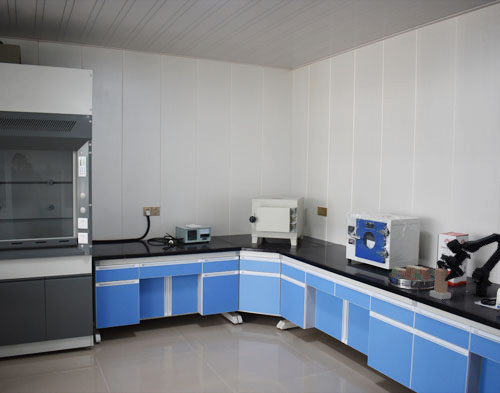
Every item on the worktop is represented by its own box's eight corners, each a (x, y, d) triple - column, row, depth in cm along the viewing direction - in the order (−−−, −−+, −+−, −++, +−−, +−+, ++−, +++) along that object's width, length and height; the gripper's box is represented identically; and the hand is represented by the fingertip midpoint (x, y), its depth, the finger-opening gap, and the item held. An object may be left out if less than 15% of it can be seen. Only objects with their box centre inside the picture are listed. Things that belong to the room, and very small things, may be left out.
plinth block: (439, 294, 263) (439, 289, 263) (450, 298, 256) (451, 292, 256) (429, 295, 260) (429, 290, 260) (440, 299, 253) (441, 294, 252)
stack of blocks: (391, 282, 288) (391, 263, 287) (395, 281, 292) (396, 262, 291) (424, 289, 273) (425, 269, 272) (428, 287, 278) (429, 268, 277)
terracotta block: (441, 290, 261) (443, 268, 260) (447, 292, 256) (448, 270, 255) (434, 290, 260) (435, 268, 259) (439, 293, 255) (440, 270, 254)
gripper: (439, 246, 266) (422, 265, 265) (460, 252, 248) (441, 273, 246) (451, 259, 268) (433, 278, 267) (472, 266, 250) (453, 286, 249)
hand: (440, 278), depth 257 cm, fingers open, 9 cm apart
